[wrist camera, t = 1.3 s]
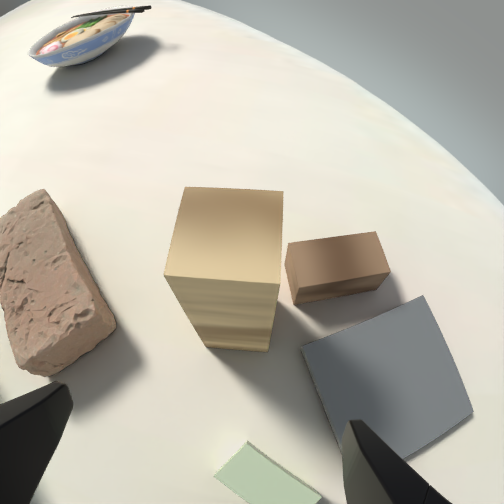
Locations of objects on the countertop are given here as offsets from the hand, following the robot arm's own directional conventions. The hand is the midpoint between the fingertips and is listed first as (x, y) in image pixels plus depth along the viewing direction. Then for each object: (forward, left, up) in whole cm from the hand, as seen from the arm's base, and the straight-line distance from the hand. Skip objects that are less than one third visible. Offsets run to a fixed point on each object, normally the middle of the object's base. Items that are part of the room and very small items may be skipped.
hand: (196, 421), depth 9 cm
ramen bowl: (+66, +11, -13) cm, 68 cm away
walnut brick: (+8, -11, -13) cm, 19 cm away
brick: (+15, +13, -14) cm, 24 cm away
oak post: (+7, -3, -13) cm, 15 cm away
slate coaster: (-2, -12, -13) cm, 18 cm away
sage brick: (-5, -1, -13) cm, 14 cm away
